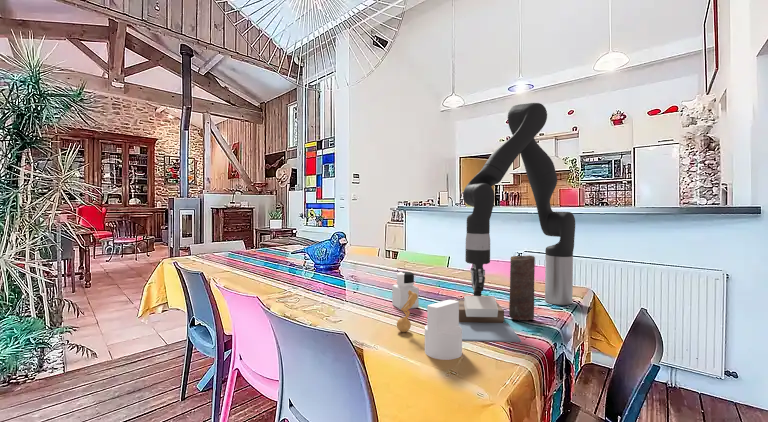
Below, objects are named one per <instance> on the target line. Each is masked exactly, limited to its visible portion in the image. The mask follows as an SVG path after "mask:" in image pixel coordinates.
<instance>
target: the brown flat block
mask: <svg viewBox="0 0 768 422" xmlns="http://www.w3.org/2000/svg"><path fill="white" fill-rule="evenodd" d="M454 300H455V301H459V322H477V323H505V310H504V309H503V307H501V305H500V304H499V303H498V302H497V301H496V303H497V307H498V316H497V317H466V312H465V307H464V299H454Z"/></svg>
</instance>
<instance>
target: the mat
mask: <svg viewBox="0 0 768 422" xmlns="http://www.w3.org/2000/svg"><path fill="white" fill-rule="evenodd" d="M459 326H460V327H461V328H462V342H463V341H465V342H499V343H500V342H503V343H504V342H505V343H506V342H507V343H522V339H521V338H520V337H519V335H518V334H517V333H516V332H515V330H514V329H513V328H512V326H511V325H510V324H509V323H507V322H504V323H477V322H459Z"/></svg>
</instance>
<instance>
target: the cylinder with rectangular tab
mask: <svg viewBox="0 0 768 422" xmlns="http://www.w3.org/2000/svg"><path fill="white" fill-rule="evenodd" d="M455 300H456V299H446V300H441V301H438V302H435V303H431V304H427V309H426V312H427V317H426V318H427V321H426V325H425V326H424V353H425V355H427V356H428V357H430V358H432V359H435V360H441V361H442V360H444V361H445V360H447V361H448V360H449V361H450V360H455V359H458V358H461V357H462V355H463V341H462V328H461V327H460V326H459V301H455Z"/></svg>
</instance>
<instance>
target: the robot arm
mask: <svg viewBox="0 0 768 422" xmlns="http://www.w3.org/2000/svg"><path fill="white" fill-rule="evenodd" d="M547 119H548V112H547V109H546V107H545V105H544V104H542V103H539V102H530V103H528V102H527V103H521V104H516V105H513V106H511V107H510V109H509V110H508V113H507V124H508V128H509V130H510V132H511V135H512V136H511V137H510V138H508V139H507V140H506V141H505V142H503V143H502V144H501V145H500V146H499V147H497V148H496V149H495V150H494V151H493V152H492V154H491V155H490V156H489V158H488V159H487V160H486V161H485V163H484V165H483V167H482V168H481V170H480V171H479V172H477V174H475V176H473V178H471V179H470V181H468V183H467V184H466V186H465V187H464V189H463V192H462V199H463V201H464V203H465V204H466V205H468V206H470V207H473V209H472V213H471V214H469V215H468V216H467V218H466V234H465V235H466V236H465V258H464V259H465V260H464V261H465V263H467V264H470V265H472V267H471V268H470V275H471V277H470V278H471V279H470V281H471V288H472V290H473V296H482V292H484V287H485V280H486V276H485V275H486V269H484V265H487V264H490V263H491V236H490V235H491V234H490V231H491V230H490V229H491V228H490V227H491V226H490V225H491V224H490V221H491V216H492V213H493V209H494V205H495V198H496V196H495V191H494V189H493V186H494V185H495V186H496V185H497V184H499V183H500V182H501V181H502V179H503V178H504V176H505V175H506V174H507V172H508V171H509V169H510V167H511V166H512V164H513V163H514V162H515V160H516V159H517V158H518V156H519V155H520V156H521V160H522V162H523V166H524V169H525V172H526V177H527V180H528V182H529V183H528V184H529V186H530V188H531V192H532V194H533V198H534V202H535V205H536V211H537V215H538V219H539V223H540V224H539V225H540V229H541V231H542V233H543V234H544V235H545V236H547V237H555V238H556V237H559V241H558V242H557V243H555V244H552V245H549V246H547V247H545V253H544V254H545V259H544V260H545V262H544V263H545V266H544V267H545V270H544V272H545V273H544V274H545V277H544V280H545V281H544V283H545V284H544V301H545V302H546V303H549V304H551V305H558V306H559V305H560V306H567V305H568V306H569V305H572V304H573V284H574V282H573V281H574V278H573V276H574V275H573V274H574V271H573V270H574V256H573V255H574V247H575V236H576V234H575V233H576V218H575V215H574V214H573V213H572V212H571V211H554V210H553V209H552V206H551V199H552V196H553V193H554V191H555V189H556V187H557V184H558V176H557V175H558V174H557V171H556V168H555V163H554V162H553V160H552V158H551V157H550V156H549V154H547V152H546V151H545V150H544V149H543V148H542V147H541V146H540V145H539V144H538V142H537V141H536V139H535V137H536V136H537V135H538V134H539V133H540V131H541V130H542V129H543V128H544V126H545V125H546V122H547Z"/></svg>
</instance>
